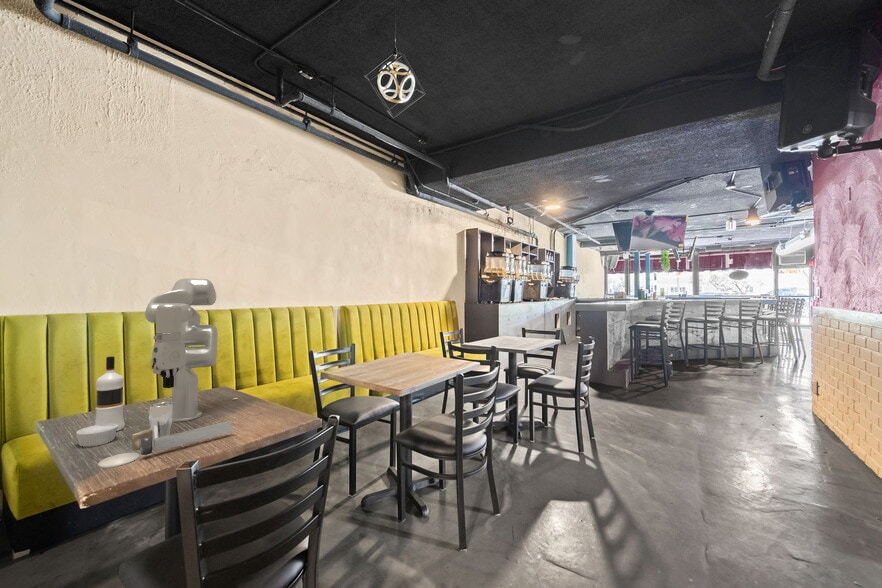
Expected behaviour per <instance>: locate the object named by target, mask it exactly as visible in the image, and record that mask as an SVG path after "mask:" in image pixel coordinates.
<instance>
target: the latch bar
mask: <svg viewBox="0 0 882 588" xmlns="http://www.w3.org/2000/svg"><path fill="white" fill-rule="evenodd" d="M232 422H233V421H231V420H227V421H224V422H219V423H214V424H211V425H205V426H202V427H198V428H197V427H196V428H194V429H188V430H185V431H181V432H177V433H170V435H167V436H163V437H158V438H154V439H153V437H151V436H150V437H144V438H142V439H141V449H140V455H141V456H146V455H150V454H152V453H153V452H154V453H157V452H160V451H164V450H168V449H172V448H176V447H179V446H184V445H187V444H191V443H195V442H198V441H203V440H206V439H211V438H215V437H218V436H221V435H225V434H230V433H233V429H232V428H233V425H232V424H233V423H232ZM152 439H153V449H152Z"/></svg>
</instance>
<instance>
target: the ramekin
mask: <svg viewBox="0 0 882 588" xmlns="http://www.w3.org/2000/svg"><path fill="white" fill-rule="evenodd" d="M117 428H118V425H117V424H100V425H95V424H94V425H89V426H87V427H83V428H81V429H79V430H77V431H76V432H75V435H76V437H77V440H78V445H79V446H80V447H82V446H83V447H82V448H89V447H90V448H91V446H93V447H99V446H103V445H106V444H109V443H111V442H112V441H113V440H114V439H115V438H116V434H117V432H118V431H117ZM116 431H117V432H116ZM110 441H111V442H110ZM108 442H109V443H108ZM102 444H103V445H102ZM98 445H99V446H98Z"/></svg>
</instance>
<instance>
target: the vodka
mask: <svg viewBox="0 0 882 588" xmlns="http://www.w3.org/2000/svg"><path fill="white" fill-rule="evenodd" d="M115 359H116V358H115V356H111V355H110V356H106V357H105V373H104V374H102V375H100V376H99V377H98V378H97V379H96V381H95V386H96V388H95V390H96V394H95V396H96V397H95V398H96V400H95V401H96V402H95V404H96V405H95V423H94V425H100V424H117V425H118V428H117V432H119V431H121V430H123V429H124V428H125V425H126V424H125V423H126V422H125V420H124V419H125V418H124V386H125V385H124V382H125V378H124V376H123V375H122V374H119V373H117V372H116V371H115V368H116V367H115V361H116V360H115Z"/></svg>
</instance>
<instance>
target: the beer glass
mask: <svg viewBox="0 0 882 588" xmlns="http://www.w3.org/2000/svg"><path fill="white" fill-rule="evenodd" d="M148 410H149V412H148V424H149V429H150V430H151V435H152V437H153V439H154V438H158V437H163V436H167V435H171V430H172V429H171V428H172V424H173V422H172V420H173V405H172V401H162V402H161V401H160V402H155V403H151V404H150V405H149V409H148ZM153 439H152V450H153Z"/></svg>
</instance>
